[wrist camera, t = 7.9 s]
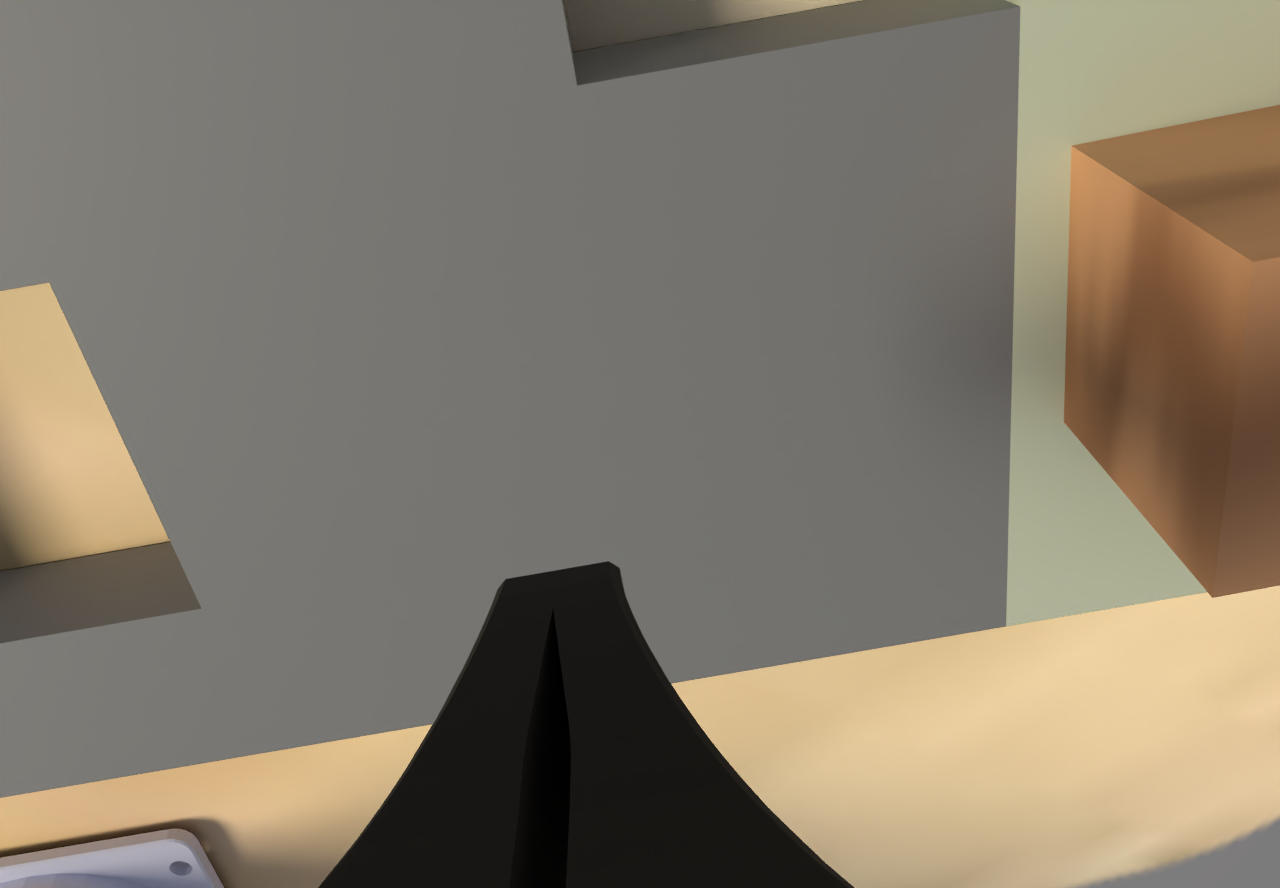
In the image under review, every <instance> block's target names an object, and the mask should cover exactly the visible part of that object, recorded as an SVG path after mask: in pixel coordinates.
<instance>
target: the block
mask: <svg viewBox="0 0 1280 888" xmlns="http://www.w3.org/2000/svg"><path fill="white" fill-rule="evenodd" d="M1064 423H1065V424H1066V425H1067V426H1068V428H1069V429H1070V430H1071V431H1072V432H1073V433H1074V435H1075V436H1076V437H1077V438H1078V439H1079V441H1080V442H1081V443H1082V444H1083V445H1084V446H1085V448H1086V449H1087V450H1088V451H1089V452H1090V454H1091V455H1092V456H1093V457H1094V458H1095V459H1096V461H1097V462H1098V463H1099V464H1100V465H1101V467H1102V468H1103V469H1104V470H1105V471H1106V473H1107V474H1108V475H1109V476H1110V477H1111V478H1112V480H1113V481H1114V482H1115V483H1116V484H1117V486H1118V487H1119V488H1120V489H1121V490H1122V491H1123V493H1124V494H1125V495H1126V496H1127V497H1128V499H1129V500H1130V501H1131V502H1132V503H1133V504H1134V506H1135V507H1136V508H1137V509H1138V510H1139V512H1140V513H1141V514H1142V515H1143V516H1144V517H1145V519H1146V520H1147V521H1148V522H1149V523H1150V525H1151V526H1152V527H1153V528H1154V529H1155V530H1156V532H1157V533H1158V534H1159V535H1160V536H1161V538H1162V539H1163V540H1164V541H1165V542H1166V543H1167V545H1168V546H1169V547H1170V548H1171V549H1172V551H1173V552H1174V553H1175V554H1176V555H1177V556H1178V558H1179V559H1180V560H1181V561H1182V562H1183V564H1184V565H1185V566H1186V567H1187V568H1188V569H1189V571H1190V572H1191V573H1192V574H1193V575H1194V577H1195V578H1196V579H1197V580H1198V581H1199V582H1200V584H1201V585H1202V586H1203V587H1204V588H1205V590H1206V591H1207V592H1208V593H1209V594H1210V596H1211V597H1212V598H1214V597H1219V596H1224V595H1230V594H1235V593H1241V592H1246V591H1251V590H1257V589H1262V588H1267V587H1273V586H1278V585H1280V105H1275V106H1270V107H1265V108H1260V109H1255V110H1250V111H1245V112H1240V113H1235V114H1230V115H1225V116H1220V117H1215V118H1209V119H1204V120H1199V121H1194V122H1189V123H1184V124H1179V125H1174V126H1169V127H1164V128H1159V129H1154V130H1149V131H1144V132H1138V133H1133V134H1128V135H1123V136H1118V137H1113V138H1108V139H1103V140H1098V141H1093V142H1088V143H1083V144H1078V145H1072V146H1071V180H1070V216H1069V251H1068V287H1067V323H1066V359H1065V394H1064Z"/></svg>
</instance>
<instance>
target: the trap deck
mask: <svg viewBox="0 0 1280 888" xmlns="http://www.w3.org/2000/svg"><path fill="white" fill-rule="evenodd" d="M1275 105H1280V0H863V1H858V2H852V3H846V4H841V5H835V6H830V7H824V8H818V9H813V10H807V11H802V12H796V13H790V14H785V15H779V16H774V17H768V18H762V19H757V20H751V21H746V22H740V23H735V24H729V25H723V26H718V27H712V28H707V29H701V30H695V31H690V32H684V33H679V34H673V35H667V36H662V37H656V38H651V39H645V40H639V41H634V42H628V43H623V44H617V45H611V46H606V47H600V48H595V49H589V50H583V51H578V52H573V48H572V43H571V37H570V31H569V26H568V20H567V15H566V9H565V4H564V0H0V291H3V290H8V289H14V288H20V287H25V286H31V285H37V284H42V283H48V282H49V283H50V285H51V287H52V289H53V292H54V294H55V296H56V298H57V300H58V302H59V304H60V307H61V309H62V311H63V313H64V315H65V317H66V319H67V322H68V324H69V326H70V328H71V330H72V332H73V334H74V337H75V339H76V341H77V343H78V345H79V347H80V349H81V352H82V354H83V356H84V358H85V360H86V362H87V364H88V366H89V369H90V371H91V373H92V375H93V377H94V379H95V381H96V384H97V386H98V388H99V390H100V392H101V394H102V396H103V399H104V401H105V403H106V405H107V407H108V409H109V411H110V414H111V416H112V418H113V420H114V422H115V424H116V426H117V429H118V431H119V433H120V435H121V437H122V439H123V441H124V444H125V446H126V448H127V450H128V452H129V454H130V456H131V459H132V461H133V463H134V465H135V467H136V469H137V471H138V474H139V476H140V478H141V480H142V482H143V484H144V486H145V488H146V491H147V493H148V495H149V497H150V499H151V501H152V503H153V506H154V508H155V510H156V512H157V514H158V516H159V518H160V521H161V523H162V525H163V527H164V529H165V531H166V533H167V536H168V538H169V540H170V542H167V543H162V544H156V545H150V546H144V547H139V548H133V549H127V550H121V551H116V552H110V553H104V554H98V555H92V556H87V557H81V558H75V559H69V560H64V561H58V562H52V563H46V564H41V565H35V566H29V567H23V568H17V569H12V570H6V571H0V798H2V797H8V796H14V795H19V794H25V793H31V792H37V791H43V790H49V789H55V788H60V787H66V786H72V785H78V784H84V783H90V782H96V781H102V780H107V779H113V778H119V777H125V776H131V775H137V774H143V773H148V772H154V771H160V770H166V769H172V768H178V767H184V766H190V765H195V764H201V763H207V762H213V761H219V760H225V759H231V758H237V757H242V756H248V755H254V754H260V753H266V752H272V751H278V750H283V749H289V748H295V747H301V746H307V745H313V744H319V743H325V742H330V741H336V740H342V739H348V738H354V737H360V736H366V735H371V734H377V733H383V732H389V731H395V730H401V729H407V728H413V727H418V726H424V725H430V724H433V723H434V721H435V720H436V718H437V716H438V715H439V713H440V711H441V709H442V707H443V705H444V704H445V702H446V700H447V698H448V696H449V694H450V692H451V690H452V688H453V686H454V684H455V682H456V680H457V678H458V676H459V675H460V673H461V671H462V669H463V667H464V665H465V663H466V661H467V659H468V657H469V655H470V652H471V650H472V648H473V646H474V644H475V642H476V640H477V638H478V635H479V633H480V631H481V629H482V626H483V624H484V622H485V619H486V617H487V615H488V612H489V610H490V607H491V605H492V603H493V600H494V597H495V595H496V592H497V590H498V588H499V587H500V585H501V584H502V583H503V582H504V580H505V579H509V578H514V577H520V576H526V575H532V574H537V573H543V572H549V571H555V570H561V569H566V568H572V567H578V566H584V565H590V564H595V563H601V562H607V561H609V562H611V563H613V564H614V565H616V566H617V567H619V568H620V572H621V577H622V582H623V587H624V591H625V595H626V598H627V601H628V603H629V606H630V608H631V611H632V613H633V615H634V617H635V620H636V622H637V624H638V626H639V628H640V630H641V632H642V634H643V636H644V638H645V640H646V642H647V644H648V646H649V648H650V649H651V651H652V653H653V654H654V656H655V658H656V660H657V661H658V663H659V665H660V666H661V668H662V670H663V672H664V673H665V675H666V677H667V678H668V680H669V682H670V683H677V682H683V681H688V680H694V679H700V678H706V677H712V676H718V675H724V674H729V673H735V672H741V671H747V670H753V669H759V668H765V667H771V666H776V665H782V664H788V663H794V662H800V661H806V660H812V659H817V658H823V657H829V656H835V655H841V654H847V653H853V652H859V651H864V650H870V649H876V648H882V647H888V646H894V645H900V644H906V643H911V642H917V641H923V640H929V639H935V638H941V637H947V636H952V635H958V634H964V633H970V632H976V631H982V630H988V629H994V628H999V627H1005V626H1011V625H1017V624H1023V623H1029V622H1035V621H1040V620H1046V619H1052V618H1058V617H1064V616H1070V615H1076V614H1082V613H1087V612H1093V611H1099V610H1105V609H1111V608H1117V607H1123V606H1129V605H1134V604H1140V603H1146V602H1152V601H1158V600H1164V599H1170V598H1175V597H1181V596H1187V595H1193V594H1199V593H1205V592H1207V591H1206V590H1205V588H1204V587H1203V586H1202V585H1201V584H1200V582H1199V581H1198V580H1197V579H1196V578H1195V577H1194V575H1193V574H1192V573H1191V572H1190V571H1189V569H1188V568H1187V567H1186V566H1185V565H1184V564H1183V562H1182V561H1181V560H1180V559H1179V558H1178V556H1177V555H1176V554H1175V553H1174V552H1173V551H1172V549H1171V548H1170V547H1169V546H1168V545H1167V543H1166V542H1165V541H1164V540H1163V539H1162V538H1161V536H1160V535H1159V534H1158V533H1157V532H1156V530H1155V529H1154V528H1153V527H1152V526H1151V525H1150V523H1149V522H1148V521H1147V520H1146V519H1145V517H1144V516H1143V515H1142V514H1141V513H1140V512H1139V510H1138V509H1137V508H1136V507H1135V506H1134V504H1133V503H1132V502H1131V501H1130V500H1129V499H1128V497H1127V496H1126V495H1125V494H1124V493H1123V491H1122V490H1121V489H1120V488H1119V487H1118V486H1117V484H1116V483H1115V482H1114V481H1113V480H1112V478H1111V477H1110V476H1109V475H1108V474H1107V473H1106V471H1105V470H1104V469H1103V468H1102V467H1101V465H1100V464H1099V463H1098V462H1097V461H1096V459H1095V458H1094V457H1093V456H1092V455H1091V454H1090V452H1089V451H1088V450H1087V449H1086V448H1085V446H1084V445H1083V444H1082V443H1081V442H1080V441H1079V439H1078V438H1077V437H1076V436H1075V435H1074V433H1073V432H1072V431H1071V430H1070V429H1069V428H1068V426H1067V425H1066V424H1065V423H1064V394H1065V359H1066V323H1067V287H1068V251H1069V216H1070V180H1071V146H1072V145H1078V144H1083V143H1088V142H1093V141H1098V140H1103V139H1108V138H1113V137H1118V136H1123V135H1128V134H1133V133H1138V132H1144V131H1149V130H1154V129H1159V128H1164V127H1169V126H1174V125H1179V124H1184V123H1189V122H1194V121H1199V120H1204V119H1209V118H1215V117H1220V116H1225V115H1230V114H1235V113H1240V112H1245V111H1250V110H1255V109H1260V108H1265V107H1270V106H1275Z"/></svg>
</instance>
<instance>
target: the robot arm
mask: <svg viewBox="0 0 1280 888" xmlns="http://www.w3.org/2000/svg"><path fill="white" fill-rule="evenodd" d="M182 861H183V862H182ZM0 888H224V887H223V885H222V883H221V881H220V879H219V878H218V876H217V874H216V872H215V870H214V868H213V867H212V865H211V863H210V861H209V859H208V857H207V856H206V854H205V852H204V850H203V848H202V846H201V845H200V843H199V841H198V839H197V838H196V837H195V836H194V835H193V834H192V833H190V832H188V831H187V830H183V829H167V830H161V831H155V832H149V833H143V834H137V835H131V836H125V837H120V838H114V839H108V840H102V841H96V842H90V843H84V844H78V845H72V846H66V847H61V848H55V849H49V850H43V851H37V852H31V853H25V854H19V855H13V856H8V857H2V858H0ZM318 888H854V887H853V886H852V885H851V884H849V883H848V882H847V881H846V880H845V879H843V878H842V877H841V876H840V875H839V874H838V873H836V872H835V871H834V870H833V869H832V868H831V867H829V866H828V865H827V864H826V863H825V862H824V861H823V860H822V859H821V858H820V857H819V856H817V855H816V854H815V853H814V852H813V851H812V850H811V849H810V848H809V847H808V846H807V845H806V844H805V843H804V842H803V841H802V840H801V839H800V838H799V837H798V836H797V835H796V834H795V833H794V832H793V831H792V830H791V829H789V828H788V827H787V826H786V825H785V824H784V823H783V822H782V821H781V820H780V819H779V818H778V817H777V816H776V815H775V814H774V813H773V812H772V811H771V810H770V809H769V808H768V807H767V806H766V805H765V804H764V803H763V801H762V800H761V799H760V798H759V797H758V796H757V795H756V794H755V793H754V791H753V790H752V789H751V788H750V787H749V786H748V785H747V784H746V783H745V782H744V780H743V779H742V778H741V777H740V776H739V775H738V773H737V772H736V771H735V770H734V769H733V768H732V766H731V765H730V764H729V763H728V762H727V760H726V759H725V758H724V757H723V756H722V754H721V753H720V752H719V751H718V749H717V748H716V747H715V745H714V744H713V743H712V742H711V740H710V739H709V738H708V736H707V735H706V734H705V732H704V731H703V730H702V728H701V727H700V726H699V724H698V723H697V722H696V720H695V719H694V717H693V716H692V714H691V713H690V712H689V710H688V709H687V707H686V706H685V704H684V703H683V702H682V700H681V699H680V697H679V696H678V694H677V692H676V691H675V689H674V688H673V686H672V685H671V683H670V682H669V680H668V678H667V677H666V675H665V673H664V672H663V670H662V668H661V666H660V665H659V663H658V661H657V660H656V658H655V656H654V654H653V653H652V651H651V649H650V648H649V646H648V644H647V642H646V640H645V638H644V636H643V634H642V632H641V630H640V628H639V626H638V624H637V622H636V620H635V617H634V615H633V613H632V611H631V608H630V606H629V603H628V601H627V598H626V595H625V591H624V587H623V582H622V577H621V572H620V568H619V567H617V566H616V565H614V564H613V563H611V562H609V561H607V562H601V563H595V564H590V565H584V566H578V567H572V568H566V569H561V570H555V571H549V572H543V573H537V574H532V575H526V576H520V577H514V578H509V579H505V580H504V582H503V583H502V584H501V585H500V587H499V588H498V590H497V592H496V595H495V597H494V600H493V603H492V605H491V607H490V610H489V612H488V615H487V617H486V619H485V622H484V624H483V626H482V629H481V631H480V633H479V635H478V638H477V640H476V642H475V644H474V646H473V648H472V650H471V652H470V655H469V657H468V659H467V661H466V663H465V665H464V667H463V669H462V671H461V673H460V675H459V676H458V678H457V680H456V682H455V684H454V686H453V688H452V690H451V692H450V694H449V696H448V698H447V700H446V702H445V704H444V705H443V707H442V709H441V711H440V713H439V715H438V716H437V718H436V720H435V721H434V723H433V725H432V726H431V728H430V730H429V732H428V733H427V735H426V737H425V738H424V740H423V742H422V743H421V745H420V747H419V748H418V750H417V752H416V753H415V755H414V757H413V758H412V760H411V762H410V763H409V765H408V767H407V768H406V770H405V771H404V773H403V774H402V776H401V777H400V779H399V781H398V782H397V784H396V785H395V787H394V788H393V790H392V791H391V793H390V794H389V796H388V797H387V798H386V800H385V801H384V803H383V804H382V806H381V807H380V809H379V810H378V811H377V813H376V814H375V815H374V817H373V818H372V820H371V821H370V822H369V824H368V825H367V826H366V828H365V829H364V831H363V832H362V833H361V835H360V836H359V837H358V839H357V840H356V841H355V843H354V844H353V845H352V846H351V848H350V849H349V850H348V851H347V853H346V854H345V855H344V856H343V858H342V859H341V860H340V861H339V863H338V864H337V865H336V866H335V868H334V869H333V870H332V871H331V873H330V874H329V875H328V876H327V878H326V879H325V880H324V881H323V882H322V884H321V885H320V886H319V887H318Z"/></svg>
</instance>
